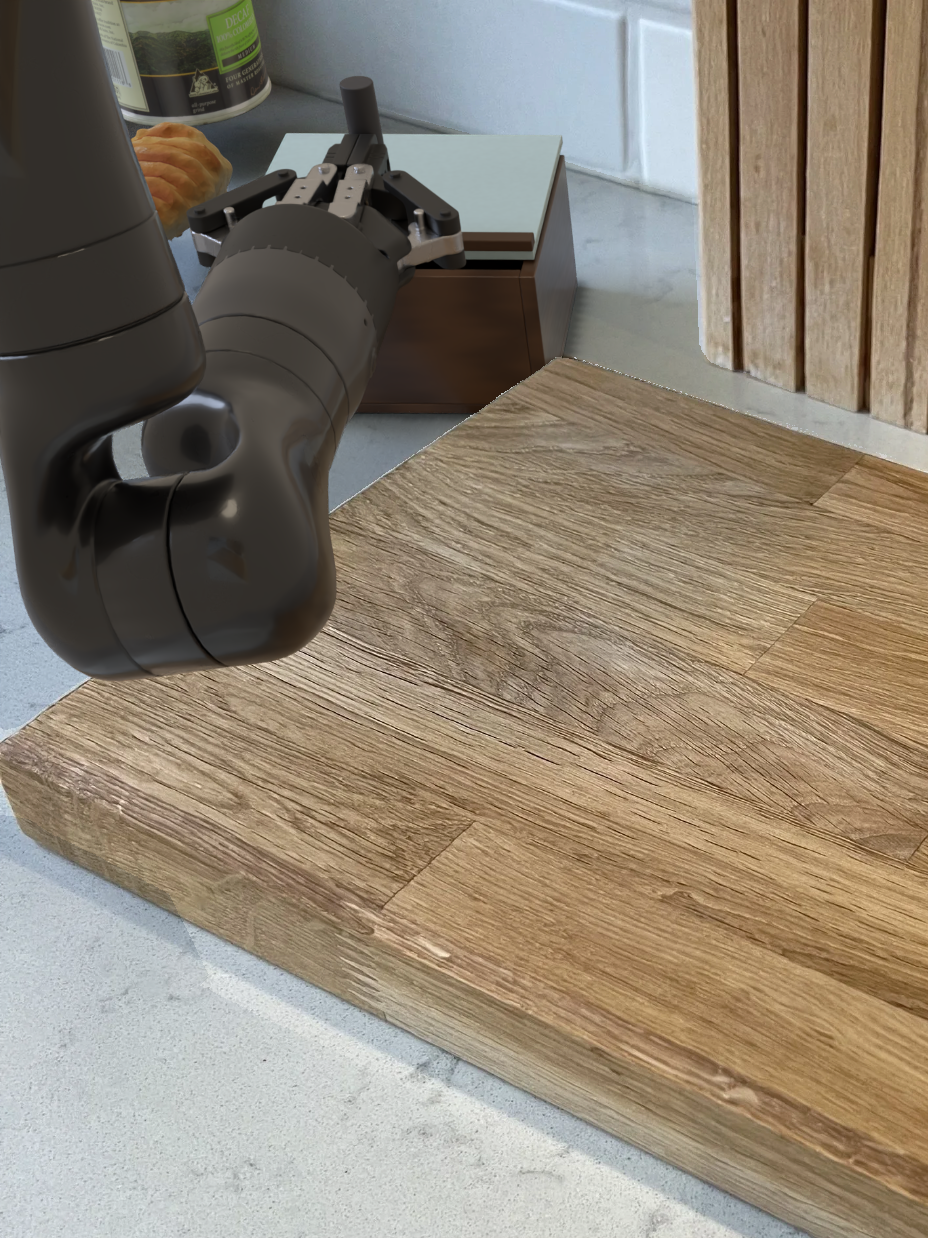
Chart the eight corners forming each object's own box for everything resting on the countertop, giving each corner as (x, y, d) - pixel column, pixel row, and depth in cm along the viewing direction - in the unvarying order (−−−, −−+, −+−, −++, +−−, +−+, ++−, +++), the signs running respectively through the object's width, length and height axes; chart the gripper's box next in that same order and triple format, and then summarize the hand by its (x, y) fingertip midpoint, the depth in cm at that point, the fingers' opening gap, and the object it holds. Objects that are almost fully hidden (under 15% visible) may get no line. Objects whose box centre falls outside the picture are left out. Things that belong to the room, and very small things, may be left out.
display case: (254, 412, 94) (218, 275, 88) (309, 283, 104) (279, 152, 98) (551, 414, 94) (534, 277, 88) (577, 285, 104) (564, 154, 98)
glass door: (229, 259, 89) (187, 93, 83) (287, 141, 99) (253, -15, 93) (534, 261, 89) (514, 95, 83) (563, 143, 99) (547, -13, 93)
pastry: (194, 256, 98) (176, 191, 96) (77, 253, 98) (55, 189, 96) (241, 180, 105) (226, 117, 102) (131, 178, 105) (112, 115, 102)
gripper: (429, 253, 71) (489, 76, 83) (104, 250, 71) (211, 74, 83) (455, 413, 76) (508, 225, 89) (153, 410, 76) (247, 223, 89)
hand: (364, 152), depth 86 cm, fingers closed
